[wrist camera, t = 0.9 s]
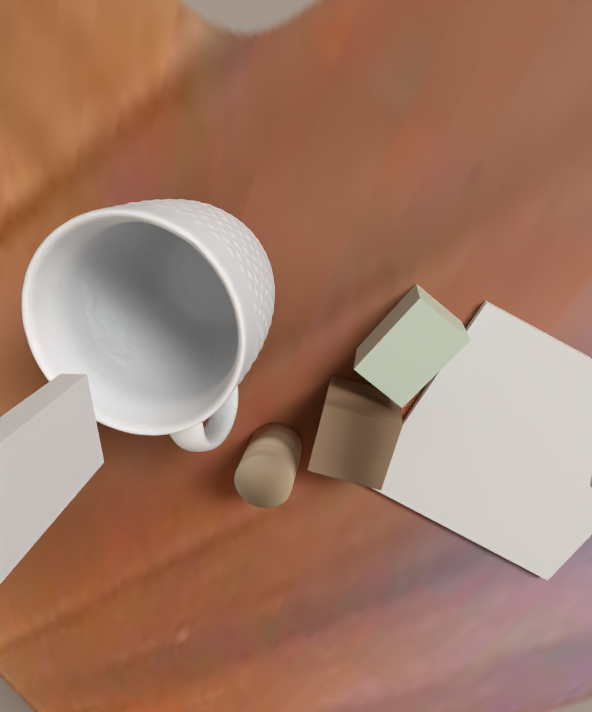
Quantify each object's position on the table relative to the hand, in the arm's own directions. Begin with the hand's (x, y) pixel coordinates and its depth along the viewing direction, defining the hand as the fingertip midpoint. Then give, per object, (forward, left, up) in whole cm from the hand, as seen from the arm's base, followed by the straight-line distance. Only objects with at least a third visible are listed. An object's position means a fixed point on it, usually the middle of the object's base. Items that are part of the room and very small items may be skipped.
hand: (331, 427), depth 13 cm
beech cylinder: (+1, -15, -23) cm, 27 cm away
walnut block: (+5, -10, -23) cm, 25 cm away
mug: (-8, -6, -23) cm, 25 cm away
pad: (+16, -6, -23) cm, 28 cm away
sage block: (+5, -3, -23) cm, 23 cm away
